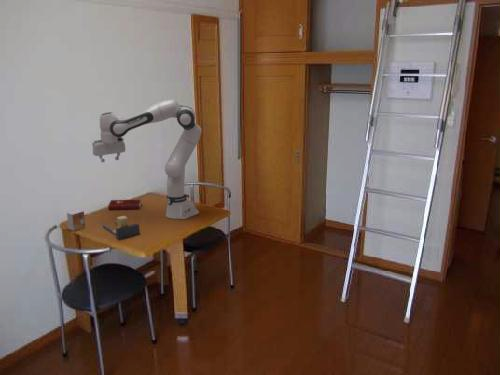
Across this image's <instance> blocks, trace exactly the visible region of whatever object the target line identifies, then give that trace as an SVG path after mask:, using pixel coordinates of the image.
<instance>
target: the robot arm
mask: <svg viewBox="0 0 500 375" xmlns="http://www.w3.org/2000/svg"><path fill="white" fill-rule="evenodd" d="M171 118H175V119H176V120H177V123H178V125H179V126H180V127H182V128H183V131H182V134H181V135H180V137H179V139H178V141H177V143H176V145H175V147H174V148H173V150H172V152H171V154H170V155H169V158H168V159H167V161H166V163H165V165H164V171H165V174H166V175H167V179H166V180H167V181H166V191H167V192H166V212H165V217H166V218H169V219H173V220H174V219H175V220H177V219H178V220H186V219H188V218H191V217H193V216H196V215H198V214H199V213H200V211H199V210H198V209H197V208H196V205H195V204H194V203H193V202H192V201H191V200H189V199H190V197H191V195H190V194H186V193H185V178H186V176H185V173H186V172H185V170H186V165H187V164H188V161H189V159H190V158H191V156H192V154H193V152H194V150H195V148H196V147H197V144H198V143H199V140H200V138H201V135H202V131H203V130H202V128H201V126H200V125H199V124H198V123H196V121H195V120H196V113H195V111H194V109H193V107H190V106H188V105H187V106H186V105H180V104H179V102H178V101H177V100H176V99H174V98H170V99H165V100H162V101H158V102H156V103H153V104H152V105H151V106H149V107H147V108H146V109H145V110H144V111H142V112H141V113H140V114H138V115H136V116H133V117H129V118H128V119H127V118H125V117H122V116H118V115H117V114H115V113H114V112H112V111H111V112H104V113H102V114H100V116H99V129H100V139H99V140H94V141H93V142H92V144H91V145H92V154H93V156H95V157H99V159H100V161H101V163H105V159H104V158H103V156H106V155H112V154H113V155H114V154H116V156H115V161H119V160H120V158H119V157H120V156H121V153H126V144H125V141H124V140H125V138H123V137H125V135H127V133H128V132H130V131H132V130H134V129H136V128H139V127H141V126H145V125H148V124H153V123H154V124H155V123H160V122H163V121H166V120H168V119H171Z"/></svg>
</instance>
